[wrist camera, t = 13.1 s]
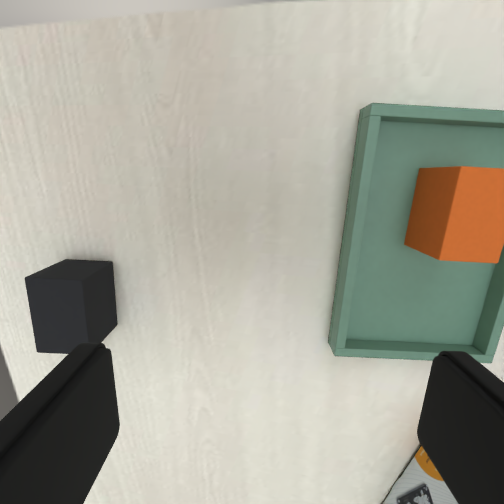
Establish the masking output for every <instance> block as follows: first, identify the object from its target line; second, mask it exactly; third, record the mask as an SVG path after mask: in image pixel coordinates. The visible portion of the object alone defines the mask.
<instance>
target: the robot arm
mask: <svg viewBox="0 0 504 504" xmlns="http://www.w3.org/2000/svg"><path fill="white" fill-rule="evenodd" d="M119 426H120V423H119V414H118V406H117V397H116V389H115V380H114V372H113V364H112V355H111V351H110V349H108V348H106V347H105V345H104V344H103V343H80V344H79V345H77V346H76V347H75V348H74V349H73V350H72V351H71V352H70V353H69V354H68V355H67V356H66V357H65V358H64V359H63V360H62V361H61V362H60V363H59V364H58V365H57V366H56V367H55V368H54V369H53V370H52V371H51V372H50V373H49V374H48V375H47V376H46V377H45V378H44V379H43V380H42V381H41V382H40V383H39V384H38V385H37V386H36V387H35V388H34V389H33V390H32V391H30V392H29V393H28V394H27V395H26V396H25V397H24V398H23V399H22V400H21V401H20V402H19V403H18V404H17V405H16V406H15V407H14V408H13V409H12V410H11V411H10V412H9V413H8V414H7V415H6V416H5V417H4V418H3V419H2V420H1V421H0V504H83V503H84V501H85V499H86V497H87V495H88V493H89V491H90V489H91V487H92V485H93V483H94V481H95V479H96V477H97V475H98V474H99V472H100V470H101V468H102V466H103V464H104V462H105V460H106V458H107V456H108V454H109V452H110V450H111V448H112V446H113V444H114V442H115V440H116V438H117V436H118V432H119ZM417 434H418V439H419V441H420V444H421V445H422V447H423V449H424V450H425V452H426V453H427V455H428V457H429V458H430V460H431V461H432V463H433V465H434V466H435V468H436V469H437V471H438V472H439V474H440V476H441V477H442V479H443V480H444V482H445V484H446V485H447V487H448V488H449V490H450V491H451V493H452V495H453V496H454V498H455V499H456V501H457V503H458V504H504V383H503V382H502V381H501V380H500V379H499V378H497V377H496V376H495V375H494V374H493V373H491V372H490V371H489V370H488V369H486V368H485V367H484V366H483V365H482V364H480V363H479V362H478V361H477V360H475V359H474V358H473V357H472V356H471V355H469V354H468V353H466V352H463V351H441V352H440V353H439V354H438V356H435V358H434V359H433V363H432V367H431V371H430V376H429V380H428V385H427V389H426V393H425V398H424V402H423V407H422V411H421V415H420V420H419V424H418V429H417Z"/></svg>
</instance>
